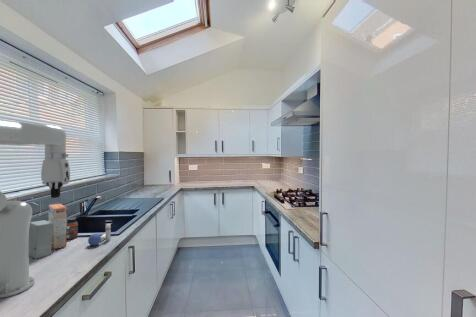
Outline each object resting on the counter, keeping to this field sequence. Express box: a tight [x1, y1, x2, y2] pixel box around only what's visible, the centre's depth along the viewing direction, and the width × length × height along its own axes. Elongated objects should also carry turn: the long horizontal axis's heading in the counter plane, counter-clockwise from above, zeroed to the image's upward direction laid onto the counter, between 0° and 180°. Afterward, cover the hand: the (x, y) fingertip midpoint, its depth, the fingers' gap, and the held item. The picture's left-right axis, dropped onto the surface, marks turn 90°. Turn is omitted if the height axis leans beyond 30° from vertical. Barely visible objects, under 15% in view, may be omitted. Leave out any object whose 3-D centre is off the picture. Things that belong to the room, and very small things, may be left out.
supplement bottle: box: [66, 217, 79, 241], centre depth 137 cm, size 6×6×11 cm
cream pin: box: [100, 232, 106, 242], centre depth 136 cm, size 2×2×9 cm
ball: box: [87, 233, 102, 247], centre depth 127 cm, size 6×6×6 cm
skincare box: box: [29, 219, 53, 260], centre depth 114 cm, size 8×7×16 cm
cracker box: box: [48, 203, 68, 250], centre depth 127 cm, size 14×6×21 cm, turn 46°
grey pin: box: [105, 223, 112, 242], centre depth 134 cm, size 2×2×9 cm
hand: (55, 197), depth 108 cm, fingers closed
